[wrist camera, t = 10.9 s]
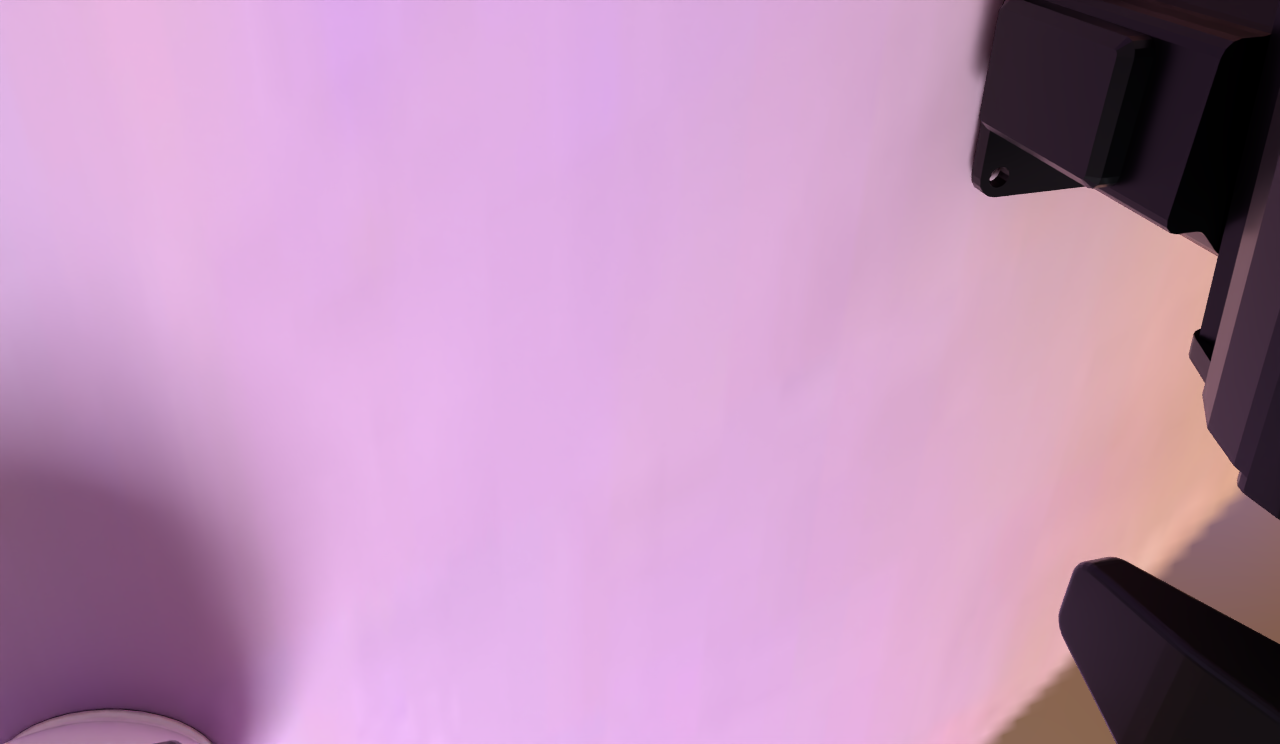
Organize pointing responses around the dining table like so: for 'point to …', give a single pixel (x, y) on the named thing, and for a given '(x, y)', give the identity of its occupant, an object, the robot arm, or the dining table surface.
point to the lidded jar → (109, 729)
